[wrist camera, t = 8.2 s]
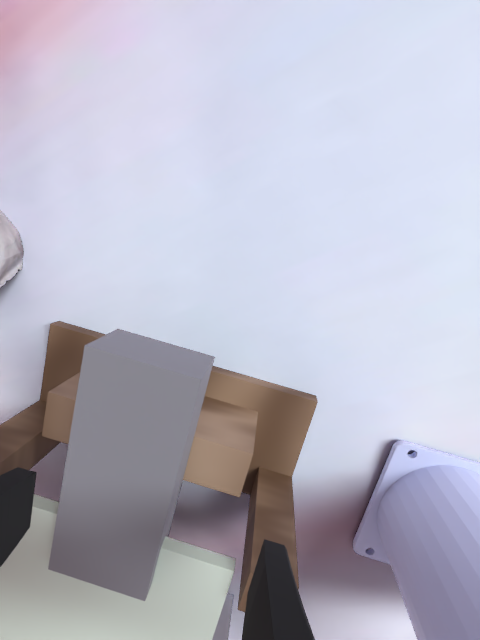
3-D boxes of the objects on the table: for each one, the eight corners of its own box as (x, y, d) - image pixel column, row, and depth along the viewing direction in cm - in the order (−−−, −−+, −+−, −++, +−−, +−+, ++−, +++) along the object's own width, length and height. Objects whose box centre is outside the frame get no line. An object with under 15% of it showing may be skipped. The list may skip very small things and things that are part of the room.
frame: (315, 396, 19) (339, 482, 12) (281, 495, 21) (284, 625, 14) (59, 320, 20) (-64, 360, 13) (44, 421, 22) (-73, 508, 15)
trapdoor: (289, 378, 14) (291, 406, 12) (192, 682, 18) (178, 751, 16) (47, 308, 15) (-1, 320, 12) (5, 618, 19) (-37, 675, 16)
